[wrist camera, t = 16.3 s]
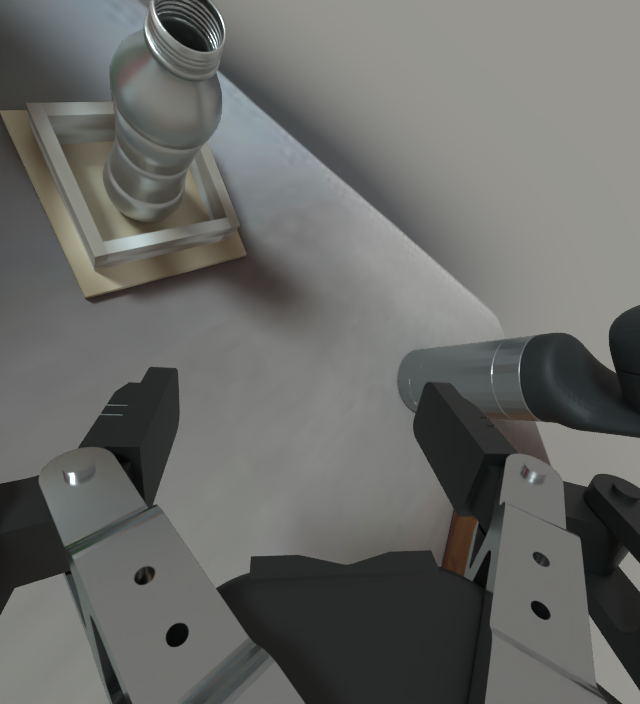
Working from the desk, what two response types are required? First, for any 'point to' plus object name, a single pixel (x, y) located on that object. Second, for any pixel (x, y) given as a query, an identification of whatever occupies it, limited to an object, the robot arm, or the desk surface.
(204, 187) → the mounting cradle
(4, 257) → the desk surface
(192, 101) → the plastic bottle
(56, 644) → the desk surface
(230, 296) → the desk surface
